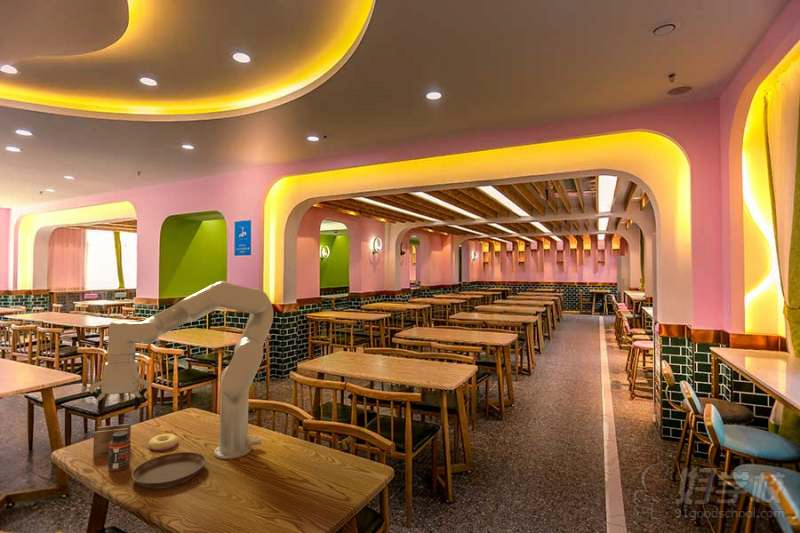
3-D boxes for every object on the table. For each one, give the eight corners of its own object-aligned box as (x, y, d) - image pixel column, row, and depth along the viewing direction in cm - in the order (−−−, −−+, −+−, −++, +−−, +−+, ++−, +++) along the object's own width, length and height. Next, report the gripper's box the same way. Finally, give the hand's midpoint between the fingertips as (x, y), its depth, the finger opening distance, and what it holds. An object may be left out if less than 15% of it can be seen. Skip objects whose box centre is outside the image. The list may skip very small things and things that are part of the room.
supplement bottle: (118, 473, 133) (119, 438, 133) (103, 470, 134) (104, 436, 134) (134, 464, 139) (135, 430, 139) (119, 462, 140) (120, 429, 140)
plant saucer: (116, 483, 127) (116, 473, 127) (176, 456, 146) (176, 446, 146) (162, 500, 119) (162, 488, 119) (219, 468, 138) (219, 458, 138)
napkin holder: (130, 447, 151) (130, 423, 152) (127, 452, 147) (127, 428, 147) (97, 451, 148) (98, 427, 148) (93, 457, 143) (93, 432, 143)
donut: (153, 459, 147) (181, 448, 154) (152, 448, 146) (180, 437, 153) (146, 446, 154) (173, 436, 161) (145, 435, 153) (172, 425, 160)
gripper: (153, 354, 143) (151, 404, 143) (93, 357, 136) (91, 409, 136) (149, 359, 136) (147, 411, 136) (86, 362, 130) (84, 416, 129)
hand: (119, 410), depth 136 cm, fingers open, 9 cm apart
